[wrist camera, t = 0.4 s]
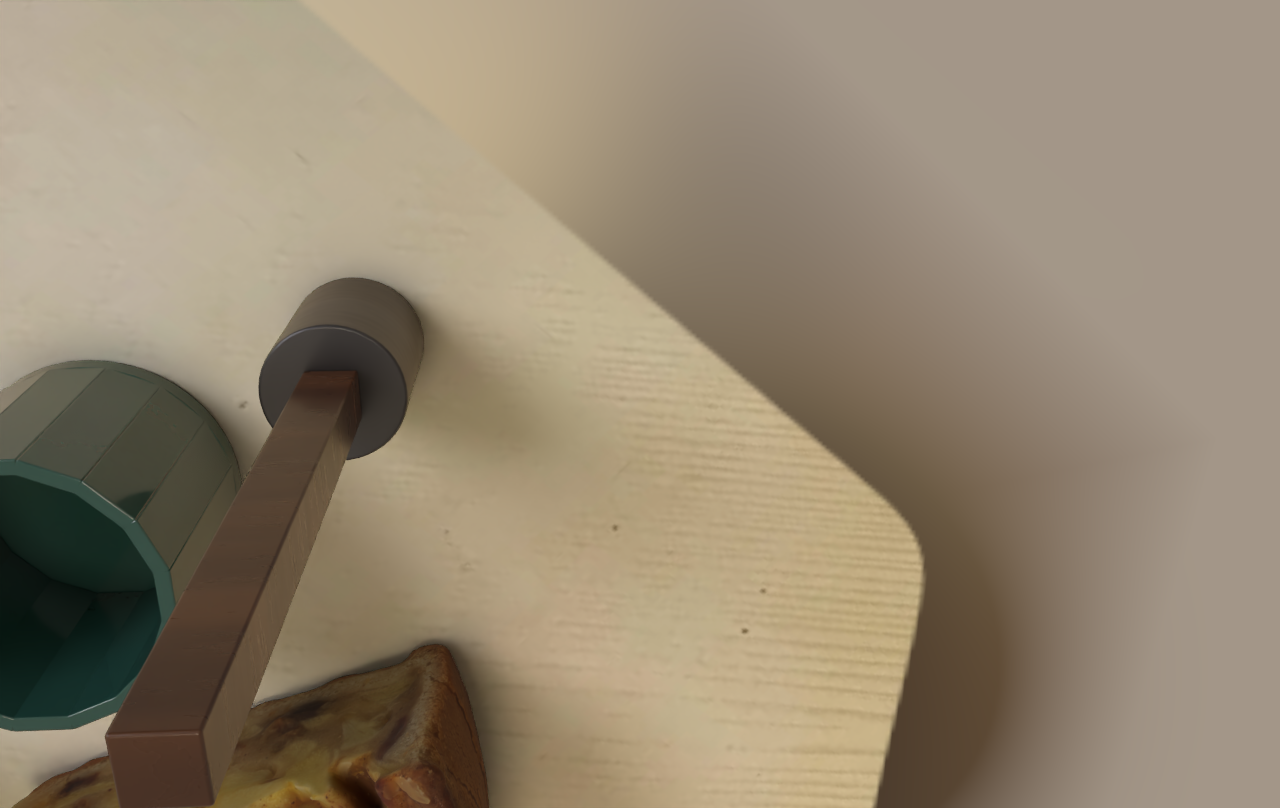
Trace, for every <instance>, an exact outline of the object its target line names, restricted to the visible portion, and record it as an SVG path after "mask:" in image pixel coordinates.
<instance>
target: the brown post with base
mask: <svg viewBox="0 0 1280 808" xmlns="http://www.w3.org/2000/svg"><path fill="white" fill-rule="evenodd" d="M423 350H424V337H423V331H422V327H421V324H420V321H419V319H418V317H417V315H416V313H415V311H414V310H413V308H412V307H411V306H410V304H409V303H408V302H407V301H406V300H405V299H404V298H403V297H402V296H401V295H400V294H398V293H397V292H396V291H394V290H393V289H391V288H389V287H388V286H386V285H383V284H381V283H379V282H376V281H372V280H368V279H362V278H344V279H339V280H334V281H332V282H329V283H326V284H324V285H322V286H320V287H319V288H317V289H316V290H314V291H313V292H312V293H311V294H310V295H308V296H307V297H306V299H305V300H304V301H303V302H302V303H301V305H300V306H299V308H298V310H297V311H296V313H295V314H294V316H293V317H292V319H291V320H290V322H289V323H288V325H287V326H286V328H285V330H284V331H283V333H282V334H281V336H280V337H279V339H278V340H277V342H276V343H275V345H274V347H273V348H272V350H271V351H270V353H269V354H268V356H267V358H266V359H265V361H264V364H263V366H262V369H261V373H260V377H259V386H258V387H259V398H260V403H261V406H262V409H263V412H264V414H265V416H266V418H267V420H268V422H269V424H270V425H271V427H272V428H273V429H272V431H271V433H270V434H269V436H268V438H267V440H266V442H265V444H264V445H263V447H262V449H261V451H260V453H259V455H258V456H257V458H256V460H255V462H254V464H253V466H252V467H251V469H250V471H249V473H248V475H247V476H246V478H245V480H244V482H243V484H242V486H241V487H240V489H239V491H238V493H237V495H236V497H235V498H234V500H233V502H232V504H231V506H230V508H229V509H228V511H227V513H226V515H225V517H224V518H223V520H222V522H221V524H220V526H219V528H218V529H217V531H216V533H215V535H214V537H213V539H212V540H211V542H210V544H209V546H208V548H207V550H206V551H205V553H204V555H203V557H202V559H201V560H200V562H199V564H198V566H197V568H196V570H195V571H194V573H193V575H192V577H191V579H190V581H189V582H188V584H187V586H186V588H185V590H184V592H183V593H182V595H181V597H180V599H179V601H178V603H177V604H176V606H175V608H174V610H173V612H172V613H171V615H170V617H169V619H168V621H167V623H166V624H165V626H164V628H163V630H162V632H161V634H160V635H159V637H158V639H157V641H156V643H155V645H154V646H153V648H152V650H151V652H150V654H149V655H148V657H147V659H146V661H145V663H144V665H143V666H142V668H141V670H140V672H139V674H138V676H137V677H136V679H135V681H134V683H133V685H132V687H131V688H130V690H129V692H128V694H127V696H126V697H125V699H124V701H123V703H122V705H121V707H120V708H119V710H118V712H117V714H116V716H115V718H114V719H113V721H112V723H111V725H110V727H109V729H108V730H107V732H106V735H105V739H106V744H107V749H108V754H109V759H110V764H111V769H112V773H113V778H114V783H115V788H116V793H117V798H118V803H119V808H186V807H209V806H212V805H214V803H215V800H216V798H217V795H218V792H219V790H220V787H221V785H222V782H223V779H224V777H225V774H226V772H227V769H228V766H229V764H230V761H231V758H232V756H233V753H234V751H235V748H236V745H237V743H238V740H239V738H240V735H241V732H242V730H243V727H244V724H245V722H246V719H247V717H248V714H249V711H250V709H251V706H252V704H253V701H254V698H255V696H256V693H257V690H258V688H259V685H260V683H261V680H262V677H263V675H264V672H265V670H266V667H267V664H268V662H269V659H270V656H271V654H272V651H273V649H274V646H275V643H276V641H277V638H278V636H279V633H280V630H281V628H282V625H283V622H284V620H285V617H286V615H287V612H288V609H289V607H290V604H291V602H292V599H293V596H294V594H295V591H296V589H297V586H298V583H299V581H300V578H301V575H302V573H303V570H304V568H305V565H306V562H307V560H308V557H309V555H310V552H311V549H312V547H313V544H314V541H315V539H316V536H317V534H318V531H319V528H320V526H321V523H322V521H323V518H324V515H325V513H326V510H327V507H328V505H329V502H330V500H331V497H332V494H333V492H334V489H335V487H336V484H337V481H338V479H339V476H340V473H341V471H342V468H343V466H344V463H345V460H350V459H355V458H360V457H363V456H366V455H368V454H370V453H372V452H374V451H376V450H378V449H379V448H381V447H382V446H384V445H385V444H386V443H387V442H388V441H389V440H391V438H392V437H393V436H394V435H395V434H396V432H397V431H398V429H399V428H400V426H401V424H402V422H403V420H404V417H405V414H406V410H407V407H408V404H409V400H410V397H411V393H412V390H413V387H414V383H415V380H416V377H417V373H418V370H419V367H420V363H421V360H422V356H423Z"/></svg>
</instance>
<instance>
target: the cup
mask: <svg viewBox="0 0 1280 808" xmlns="http://www.w3.org/2000/svg"><path fill="white" fill-rule="evenodd" d="M240 487H241V477H240V473H239V468H238V463H237V460H236V458H235V455H234V452H233V449H232V447H231V445H230V443H229V441H228V439H227V437H226V436H225V434H224V432H223V431H222V429H221V428H220V426H219V425H218V423H217V422H216V421H215V419H214V418H213V417H212V416H211V415H210V414H209V413H208V411H207V410H206V409H205V408H204V407H203V406H202V405H201V404H200V403H199V402H197V401H196V400H195V399H194V398H193V397H192V396H191V395H189V394H188V393H187V392H185V391H184V390H182V389H181V388H179V387H178V386H176V385H175V384H173V383H171V382H169V381H168V380H166V379H164V378H162V377H160V376H158V375H156V374H153V373H151V372H148V371H146V370H143V369H140V368H137V367H133V366H129V365H126V364H121V363H115V362H108V361H93V360H84V361H71V362H65V363H60V364H55V365H51V366H48V367H45V368H42V369H40V370H37V371H34V372H32V373H31V374H29V375H27V376H25V377H23V378H21V379H19V380H18V381H17V382H15V383H14V384H12V385H11V386H9V387H7V388H5V389H3V390H2V391H0V728H2V729H6V730H9V731H13V730H14V731H40V730H66V729H74V728H78V727H81V726H83V725H86V724H88V723H91V722H93V721H96V720H98V719H101V718H103V717H106V716H108V715H111V714H113V713H116V712H118V710H119V708H120V707H121V705H122V703H123V701H124V699H125V697H126V696H127V694H128V692H129V690H130V688H131V687H132V685H133V683H134V681H135V679H136V677H137V676H138V674H139V672H140V670H141V668H142V666H143V665H144V663H145V661H146V659H147V657H148V655H149V654H150V652H151V650H152V648H153V646H154V645H155V643H156V641H157V639H158V637H159V635H160V634H161V632H162V630H163V628H164V626H165V624H166V623H167V621H168V619H169V617H170V615H171V613H172V612H173V610H174V608H175V606H176V604H177V603H178V601H179V599H180V597H181V595H182V593H183V592H184V590H185V588H186V586H187V584H188V582H189V581H190V579H191V577H192V575H193V573H194V571H195V570H196V568H197V566H198V564H199V562H200V560H201V559H202V557H203V555H204V553H205V551H206V550H207V548H208V546H209V544H210V542H211V540H212V539H213V537H214V535H215V533H216V531H217V529H218V528H219V526H220V524H221V522H222V520H223V518H224V517H225V515H226V513H227V511H228V509H229V508H230V506H231V504H232V502H233V500H234V498H235V497H236V495H237V493H238V491H239V489H240Z"/></svg>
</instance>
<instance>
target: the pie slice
mask: <svg viewBox="0 0 1280 808" xmlns="http://www.w3.org/2000/svg"><path fill="white" fill-rule="evenodd" d="M12 808H119V803H118V798H117V793H116V788H115V783H114V778H113V773H112V769H111V764H110V759H109V756H106V757H101V758H96V759H93V760H91V761H89V762H87V763H85V764H84V765H82V766H81V767H79V768H77V769H75V770H73V771H69V772H65V773H62V774H59V775H57V776H55V777H53V778H51V779H49V780H47V781H46V782H44V783H43V784H41V785H40V786H38V787H37V788H36V789H34V790H33V791H32V792H31V793H30V794H29V795H28V796H27V797H26V798H24V799H22V800H21V801H19V802H18V803H17V804H15V805H14V806H13V807H12ZM186 808H489V799H488V789H487V779H486V772H485V767H484V762H483V758H482V753H481V748H480V743H479V738H478V734H477V729H476V725H475V721H474V716H473V712H472V708H471V705H470V701H469V697H468V694H467V691H466V688H465V686H464V683H463V681H462V679H461V676H460V674H459V671H458V669H457V666H456V664H455V662H454V659H453V657H452V655H451V653H450V651H449V650H448V649H447V648H446V647H445V646H443V645H439V644H433V645H427V646H423V647H420V648H418V649H416V650H414V651H413V652H412V653H411V654H410V655H409V657H408V658H407V659H406V660H404V661H403V662H402V663H399V664H397V665H394V666H390V667H386V668H382V669H379V670H375V671H371V672H367V673H363V674H354V675H348V676H344V677H340V678H338V679H335V680H333V681H330V682H328V683H327V684H325V685H323V686H321V687H318V688H316V689H313V690H310V691H307V692H304V693H300V694H296V695H293V696H290V697H287V698H283V699H279V700H272V701H268V702H265V703H262V704H260V705H258V706H256V707H254V708H252V709H250V711H249V714H248V717H247V719H246V722H245V724H244V727H243V730H242V732H241V735H240V738H239V740H238V743H237V745H236V748H235V751H234V753H233V756H232V758H231V761H230V764H229V766H228V769H227V772H226V774H225V777H224V779H223V782H222V785H221V787H220V790H219V792H218V795H217V798H216V800H215V803H214V805H212V806H209V807H186Z"/></svg>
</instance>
